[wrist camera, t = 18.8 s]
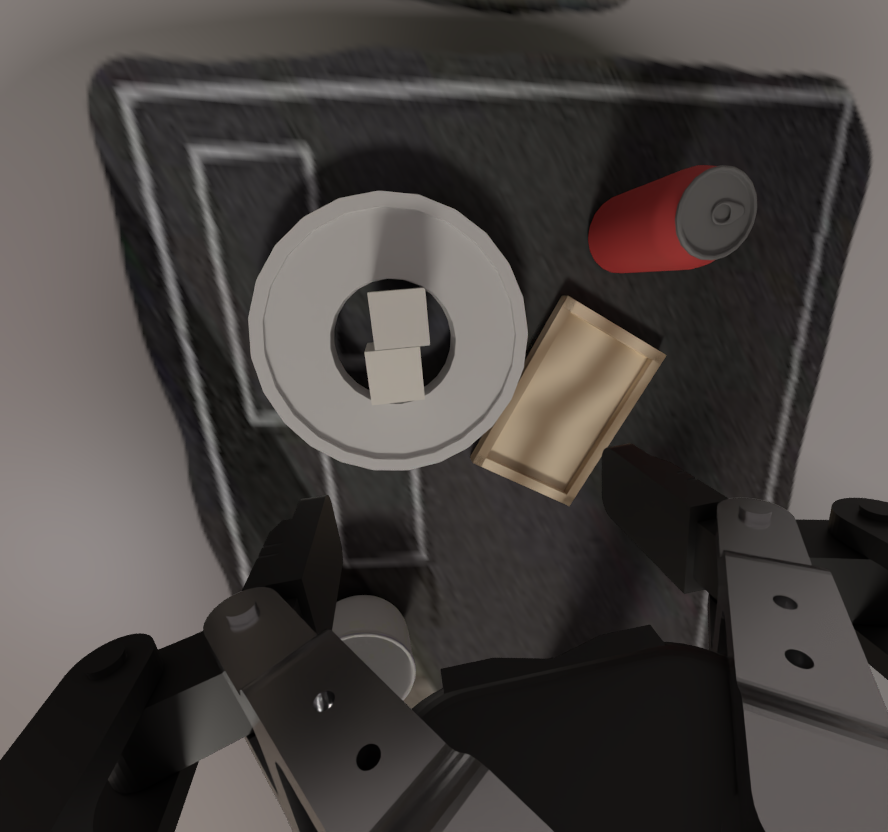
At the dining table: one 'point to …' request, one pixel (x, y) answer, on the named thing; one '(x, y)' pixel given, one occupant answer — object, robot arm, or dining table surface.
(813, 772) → the robot arm
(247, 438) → the dining table surface
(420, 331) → the stone block
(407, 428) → the ashtray
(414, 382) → the stone block
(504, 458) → the tray
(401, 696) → the teacup
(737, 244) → the beer can
